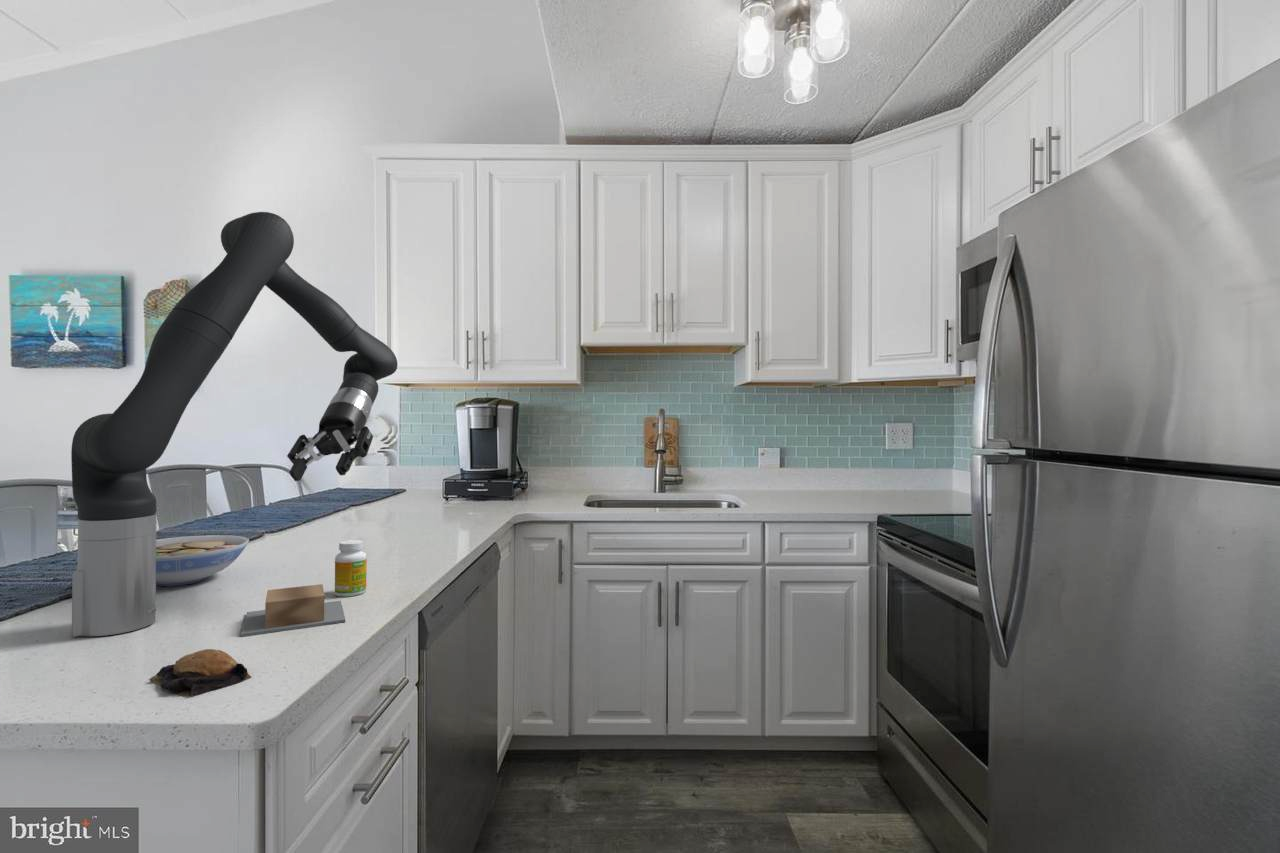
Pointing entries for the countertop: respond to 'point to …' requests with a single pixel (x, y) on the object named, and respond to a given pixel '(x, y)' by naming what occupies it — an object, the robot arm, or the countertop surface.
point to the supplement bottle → (350, 569)
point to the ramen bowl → (195, 557)
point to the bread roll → (200, 673)
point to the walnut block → (294, 606)
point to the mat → (257, 625)
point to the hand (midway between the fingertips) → (317, 475)
